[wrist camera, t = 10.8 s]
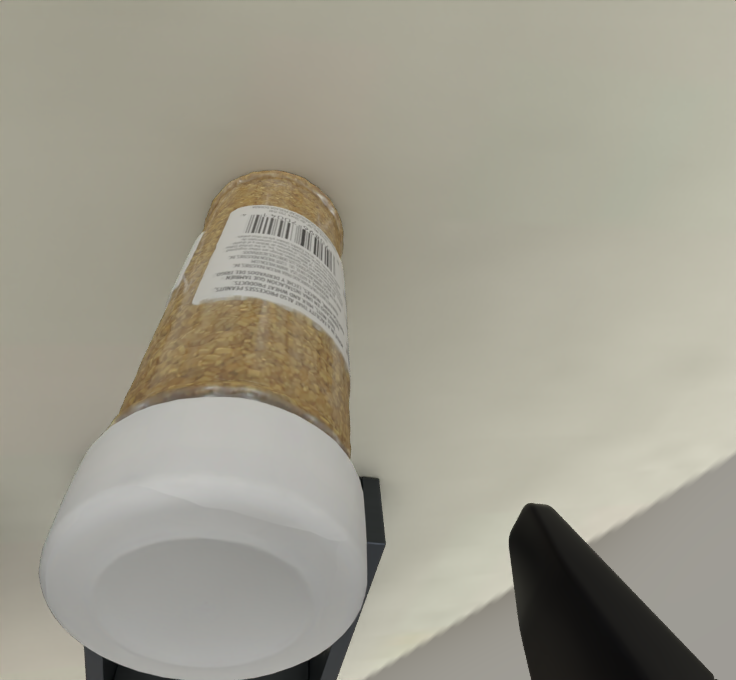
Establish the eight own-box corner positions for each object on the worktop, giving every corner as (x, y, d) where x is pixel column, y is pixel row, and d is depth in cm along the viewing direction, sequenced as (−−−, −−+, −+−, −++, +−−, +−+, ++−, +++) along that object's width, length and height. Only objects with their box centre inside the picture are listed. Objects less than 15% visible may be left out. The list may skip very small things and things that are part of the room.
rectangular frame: (109, 644, 32) (87, 713, 29) (105, 447, 24) (74, 515, 21) (321, 656, 34) (320, 722, 31) (379, 478, 26) (386, 544, 23)
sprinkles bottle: (178, 233, 19) (-42, 616, 8) (272, 134, 18) (168, 429, 6) (282, 319, 21) (227, 725, 10) (374, 235, 20) (437, 602, 8)
